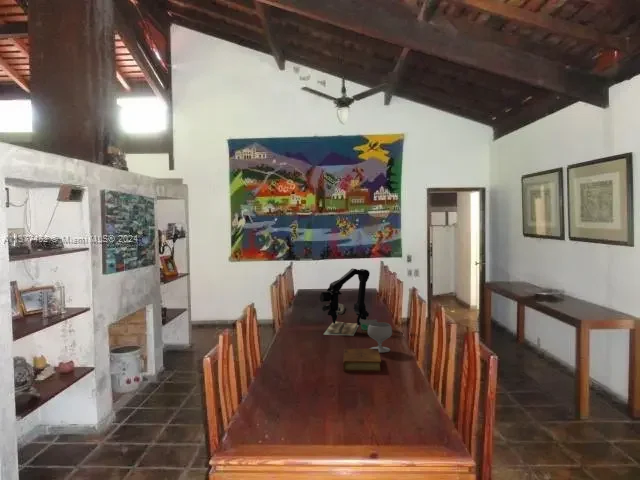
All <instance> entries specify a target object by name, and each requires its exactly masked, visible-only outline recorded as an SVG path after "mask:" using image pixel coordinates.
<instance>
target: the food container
mask: <svg viewBox="0 0 640 480" xmlns="http://www.w3.org/2000/svg"><path fill="white" fill-rule="evenodd" d="M359 322H360V323H361V325H360V332H361V334H362V335H368V327H369V325H370V324H371V323H376V322H378V319H376V318H375V319H370V318H367V319H361V318H360V320H359ZM368 336H369V335H368Z"/></svg>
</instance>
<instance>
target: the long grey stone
mask: <svg viewBox="0 0 640 480" xmlns="http://www.w3.org/2000/svg"><path fill="white" fill-rule="evenodd" d="M339 307H340V308H341V311H337V313H339V314H340V315H343V314H344V313H345V304H342V303H339Z"/></svg>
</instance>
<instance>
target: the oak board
mask: <svg viewBox="0 0 640 480" xmlns="http://www.w3.org/2000/svg"><path fill="white" fill-rule="evenodd" d="M344 325H345V326H344V328H343V329H342V331H341V334H353V333H354V331H355V329H356V327H357V325H358V324H357V322H356V323H353V322H352V323H351V322H346V323H345V324H344Z"/></svg>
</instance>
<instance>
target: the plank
mask: <svg viewBox="0 0 640 480" xmlns="http://www.w3.org/2000/svg"><path fill="white" fill-rule="evenodd" d="M344 325H346V323H345V322H342V321H336V322H335V323H333V321H332V322H331V324H330V325H329V326H328V328H327V329H326V330H327V332H332V333H340V331H341V330H342V328H343V327H344Z"/></svg>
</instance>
